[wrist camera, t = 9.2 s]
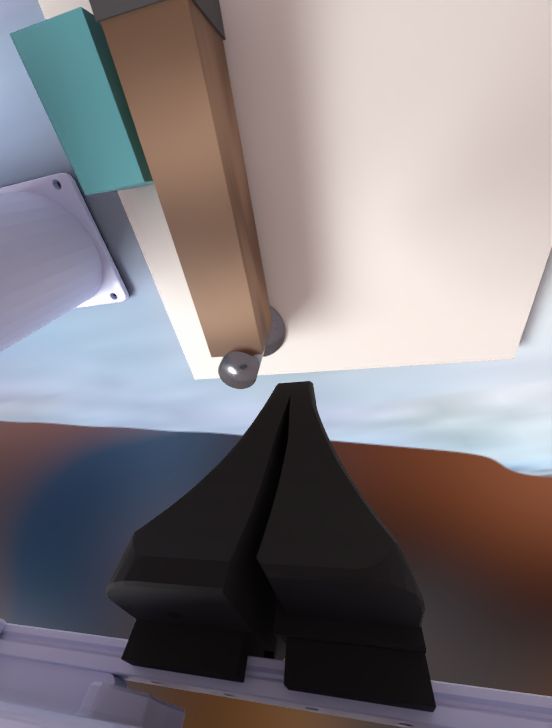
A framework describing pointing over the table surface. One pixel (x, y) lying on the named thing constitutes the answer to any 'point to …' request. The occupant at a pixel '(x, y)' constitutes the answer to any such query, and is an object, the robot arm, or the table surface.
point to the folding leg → (196, 165)
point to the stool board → (348, 170)
